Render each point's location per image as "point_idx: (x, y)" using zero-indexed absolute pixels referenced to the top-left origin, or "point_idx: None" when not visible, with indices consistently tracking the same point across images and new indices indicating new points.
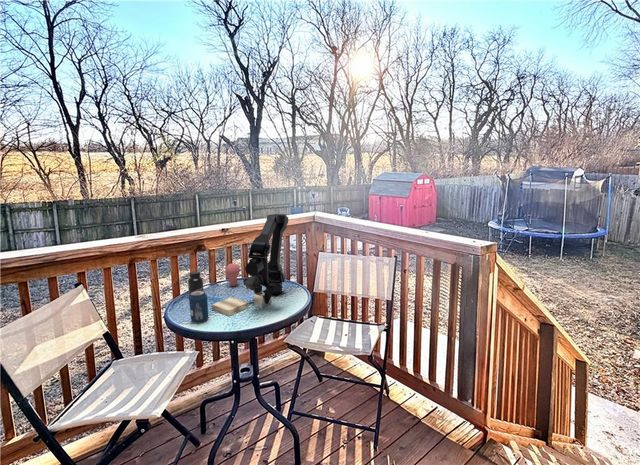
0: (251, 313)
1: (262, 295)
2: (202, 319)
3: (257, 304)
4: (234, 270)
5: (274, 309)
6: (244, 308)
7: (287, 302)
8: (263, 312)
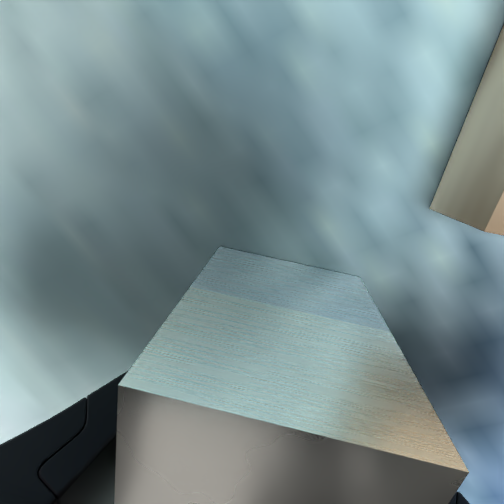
0: (261, 34)
1: (121, 426)
2: None
3: (302, 282)
4: None
5: (82, 290)
6: (474, 116)
7: None
8: (129, 158)
